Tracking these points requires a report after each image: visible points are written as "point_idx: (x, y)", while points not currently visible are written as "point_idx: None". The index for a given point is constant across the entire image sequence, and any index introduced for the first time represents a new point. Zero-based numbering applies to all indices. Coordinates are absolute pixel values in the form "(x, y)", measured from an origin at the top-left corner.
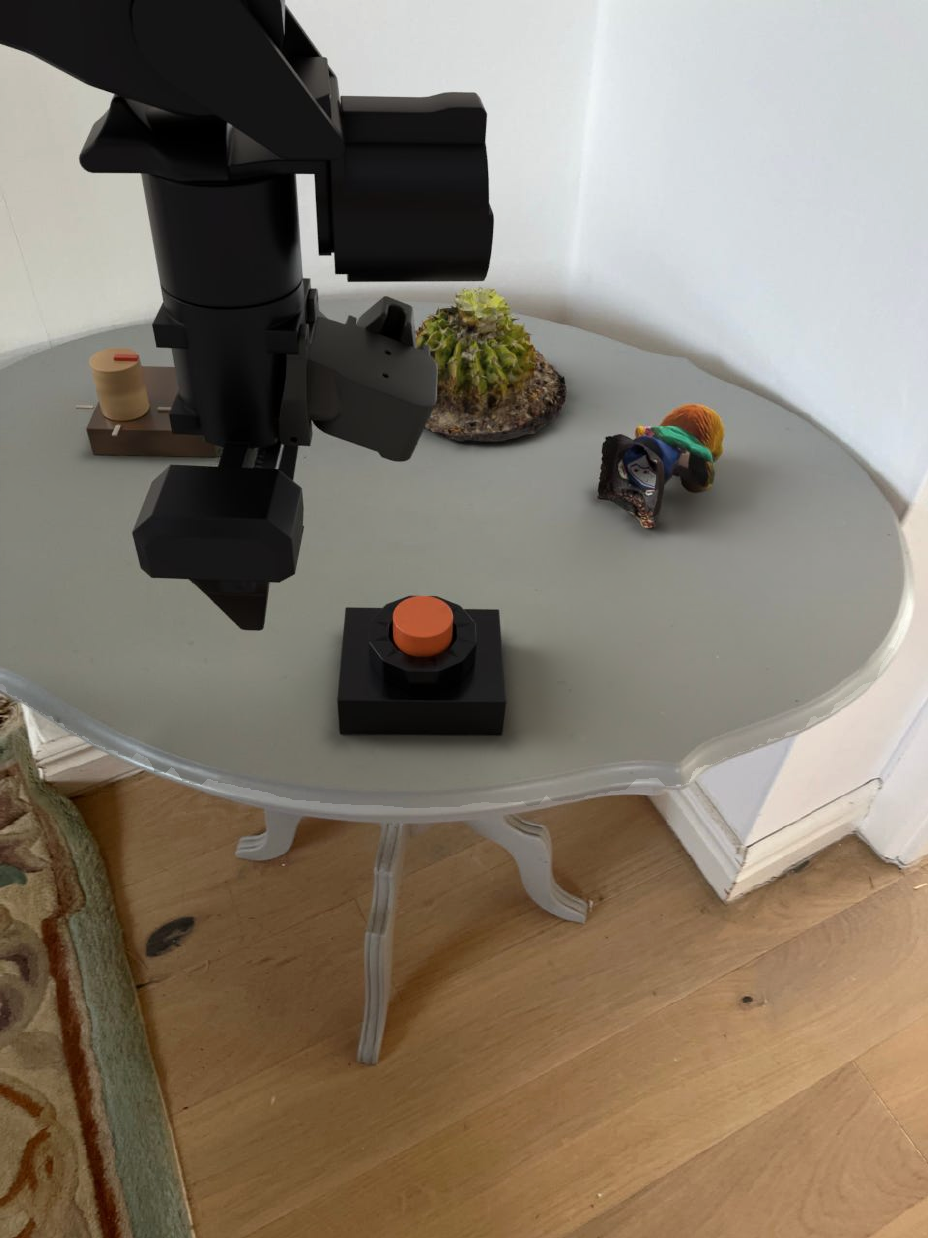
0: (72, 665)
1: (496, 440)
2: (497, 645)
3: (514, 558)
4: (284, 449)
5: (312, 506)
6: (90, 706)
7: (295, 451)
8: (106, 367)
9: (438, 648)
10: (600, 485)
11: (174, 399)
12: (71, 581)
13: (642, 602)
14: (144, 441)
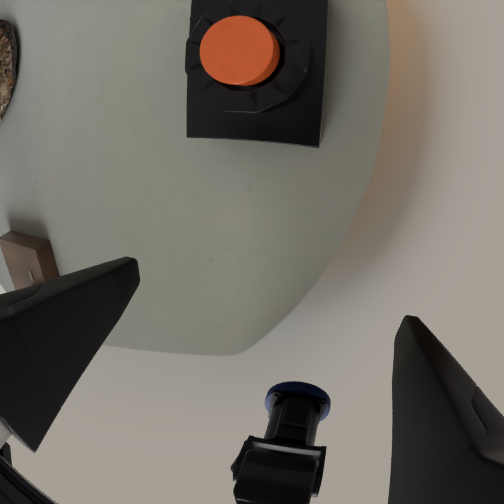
0: (234, 329)
1: (16, 51)
2: None
3: (114, 4)
4: (50, 322)
5: (71, 172)
6: (272, 321)
7: (45, 302)
8: None
9: (273, 35)
10: None
11: (24, 270)
12: (162, 326)
13: None
14: None
